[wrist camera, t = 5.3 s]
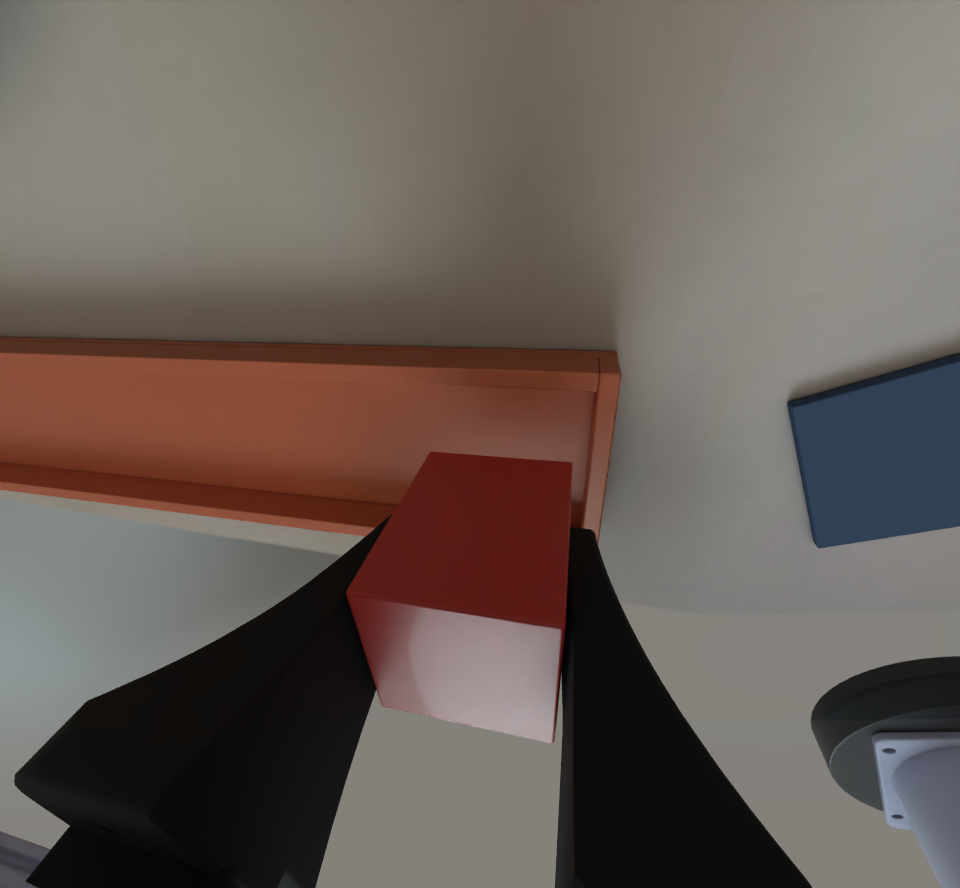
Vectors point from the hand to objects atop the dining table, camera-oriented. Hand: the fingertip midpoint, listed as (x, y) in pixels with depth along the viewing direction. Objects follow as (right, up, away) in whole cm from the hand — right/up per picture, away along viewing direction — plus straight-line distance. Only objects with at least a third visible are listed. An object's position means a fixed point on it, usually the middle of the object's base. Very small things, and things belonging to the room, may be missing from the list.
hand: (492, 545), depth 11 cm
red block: (0, +1, +1) cm, 1 cm away
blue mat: (+13, +2, +2) cm, 13 cm away
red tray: (-16, +4, +8) cm, 18 cm away
